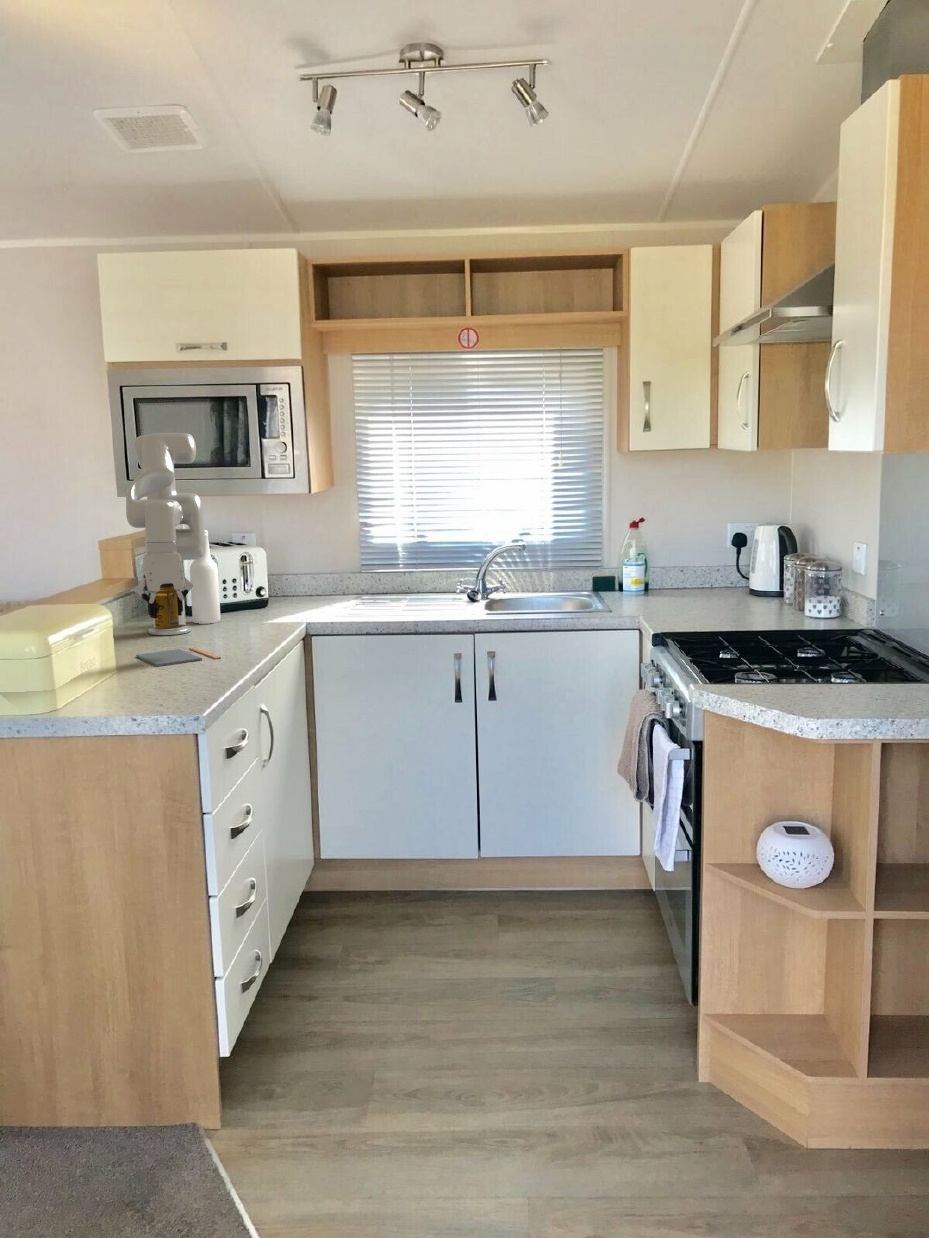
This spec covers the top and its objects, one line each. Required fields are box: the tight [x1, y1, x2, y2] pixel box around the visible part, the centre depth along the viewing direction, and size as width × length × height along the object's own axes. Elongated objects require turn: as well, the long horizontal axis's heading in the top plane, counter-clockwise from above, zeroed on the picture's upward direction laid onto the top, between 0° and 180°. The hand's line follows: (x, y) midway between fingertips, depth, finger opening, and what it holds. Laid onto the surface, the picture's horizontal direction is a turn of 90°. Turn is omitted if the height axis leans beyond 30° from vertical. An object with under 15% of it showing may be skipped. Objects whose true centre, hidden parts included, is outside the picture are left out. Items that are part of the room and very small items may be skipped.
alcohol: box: [189, 529, 222, 625], centre depth 310 cm, size 9×9×30 cm
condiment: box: [150, 583, 191, 630], centre depth 253 cm, size 7×8×12 cm
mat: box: [135, 648, 203, 667], centre depth 255 cm, size 16×12×1 cm
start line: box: [189, 646, 221, 660], centre depth 261 cm, size 18×2×1 cm, turn 37°
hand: (166, 615), depth 253 cm, fingers closed on condiment, 6 cm apart
